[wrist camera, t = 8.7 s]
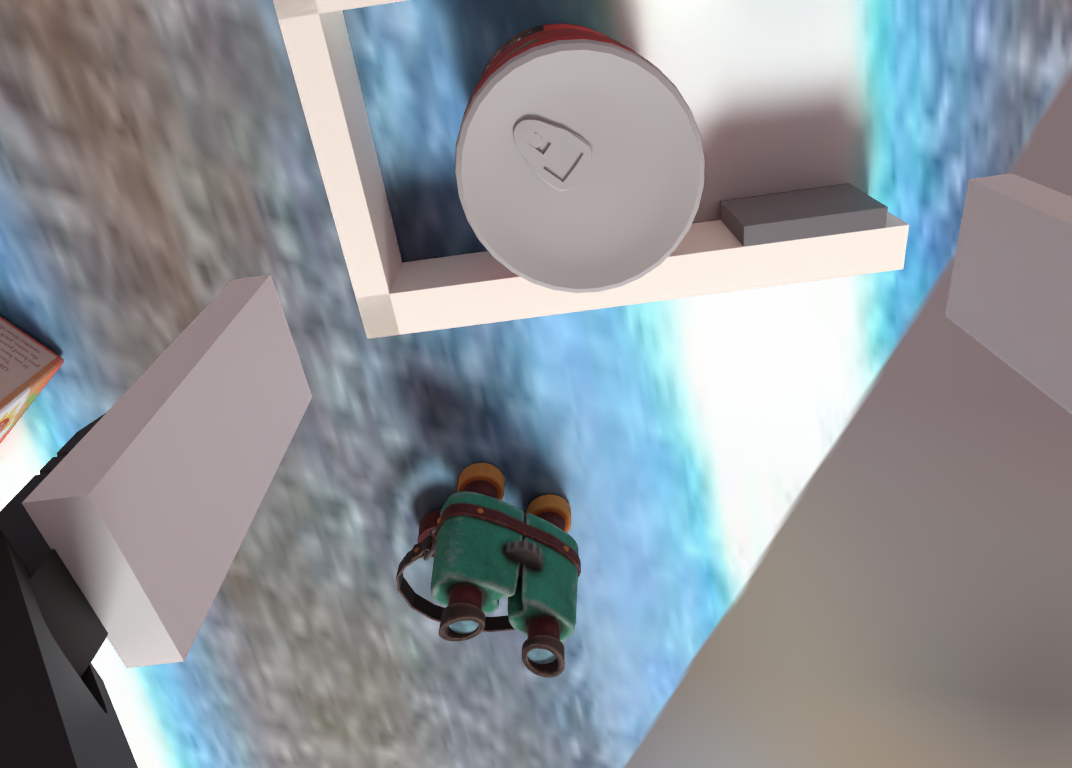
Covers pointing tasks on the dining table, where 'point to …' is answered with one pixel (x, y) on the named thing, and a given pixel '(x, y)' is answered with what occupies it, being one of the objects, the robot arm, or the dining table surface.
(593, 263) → the canned food
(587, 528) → the dining table surface
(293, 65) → the white rectangular tray
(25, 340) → the cracker box
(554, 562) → the binoculars
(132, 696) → the dining table surface
